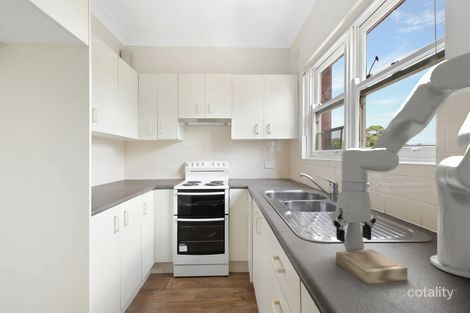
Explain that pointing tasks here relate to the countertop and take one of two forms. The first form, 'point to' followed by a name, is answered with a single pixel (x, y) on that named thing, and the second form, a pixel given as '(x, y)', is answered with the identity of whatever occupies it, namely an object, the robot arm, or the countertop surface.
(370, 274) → the base board
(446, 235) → the robot arm
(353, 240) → the salt shaker
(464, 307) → the countertop surface
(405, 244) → the countertop surface
